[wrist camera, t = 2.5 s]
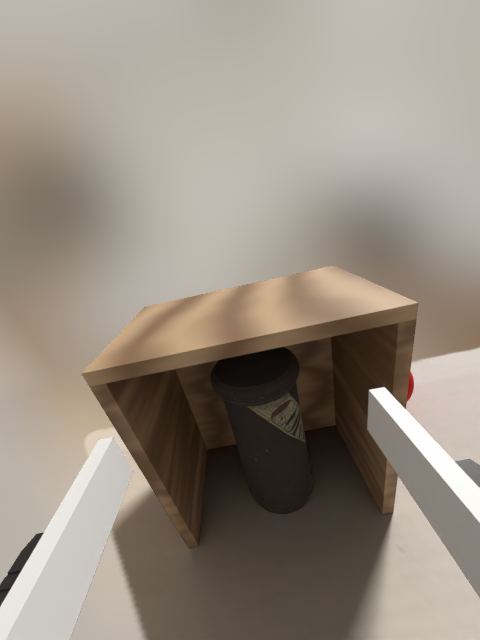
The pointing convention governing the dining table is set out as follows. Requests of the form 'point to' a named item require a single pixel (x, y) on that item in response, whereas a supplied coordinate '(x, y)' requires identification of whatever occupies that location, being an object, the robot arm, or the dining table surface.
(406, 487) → the robot arm
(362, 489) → the dining table surface
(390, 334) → the cubby
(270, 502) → the container
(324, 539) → the dining table surface
